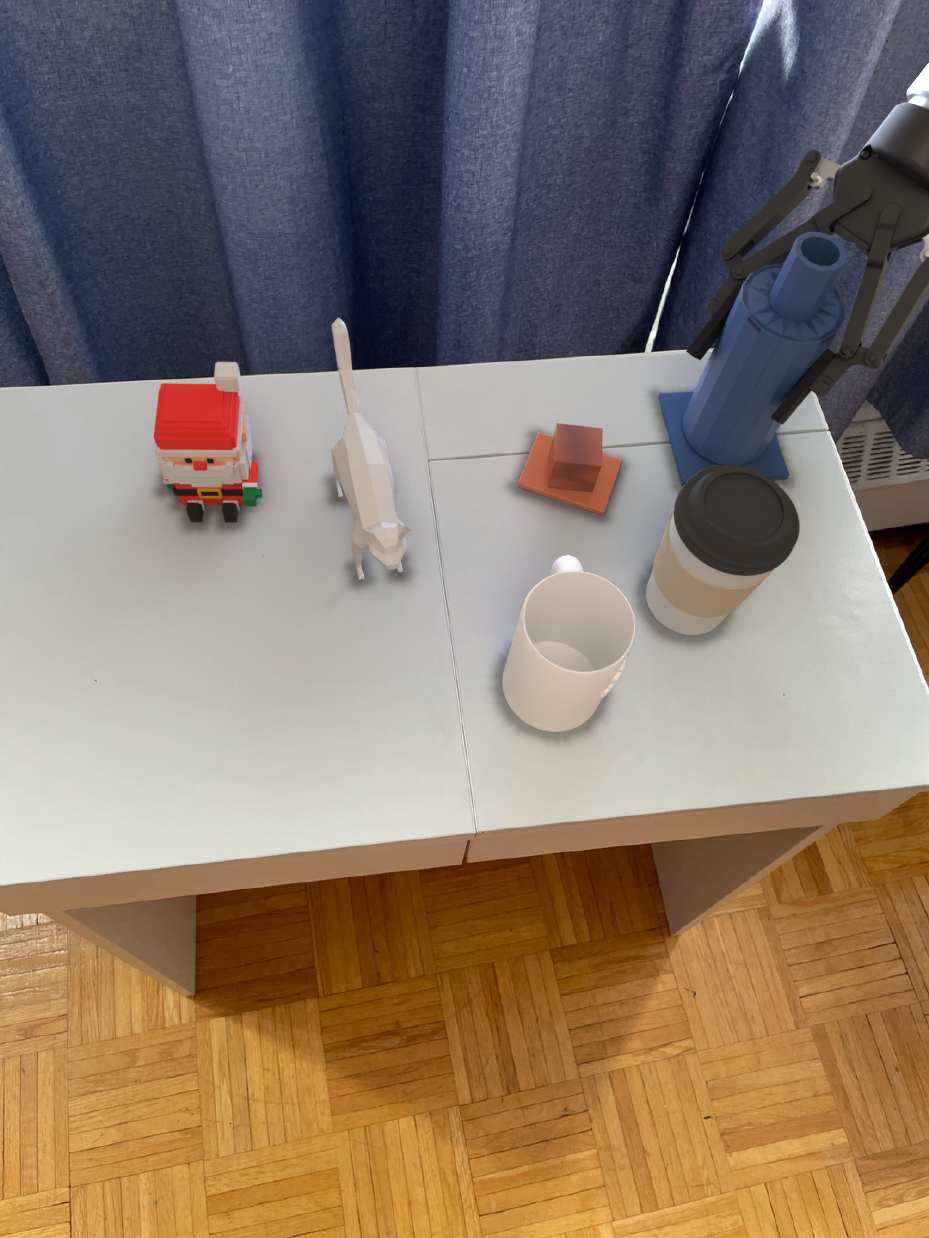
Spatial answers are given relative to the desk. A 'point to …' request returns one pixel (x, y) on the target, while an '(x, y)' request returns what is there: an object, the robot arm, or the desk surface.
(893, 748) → the desk surface
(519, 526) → the desk surface
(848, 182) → the robot arm
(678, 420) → the blue mat
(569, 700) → the mug
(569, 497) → the orange flat plate
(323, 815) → the desk surface
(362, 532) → the cat figurine
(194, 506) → the figurine
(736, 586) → the coffee cup
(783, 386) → the blue bottle
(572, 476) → the terracotta block
